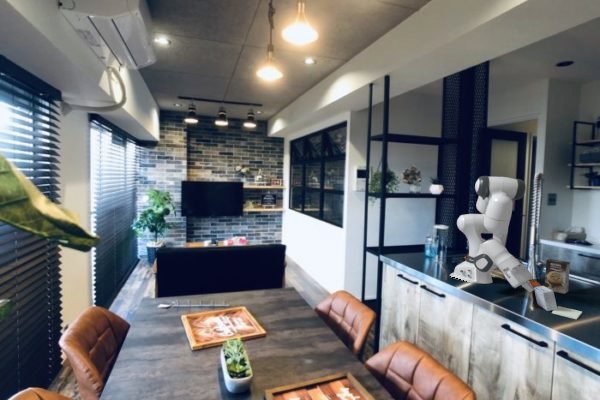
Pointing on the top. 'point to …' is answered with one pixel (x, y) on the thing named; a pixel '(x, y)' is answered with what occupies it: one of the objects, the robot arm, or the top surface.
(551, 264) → the coffee box
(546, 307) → the medicine box
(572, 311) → the sage mat
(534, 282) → the pot
